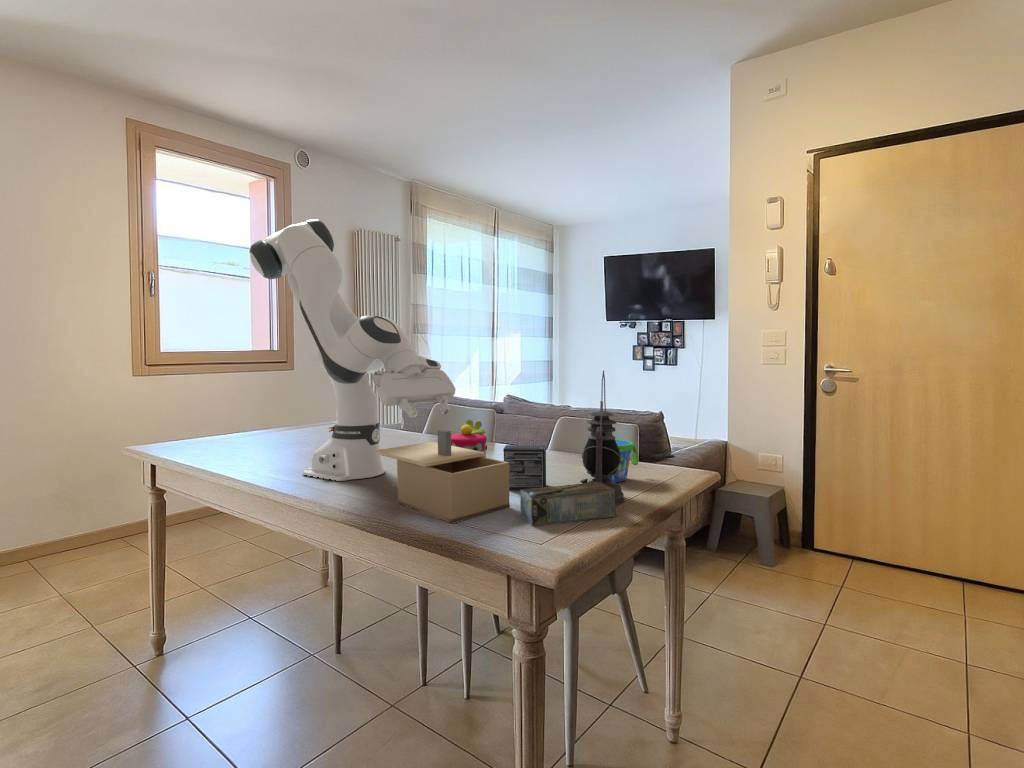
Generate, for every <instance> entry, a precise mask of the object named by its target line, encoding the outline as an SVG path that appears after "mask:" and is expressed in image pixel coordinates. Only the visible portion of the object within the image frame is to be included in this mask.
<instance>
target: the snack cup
mask: <svg viewBox="0 0 1024 768" xmlns="http://www.w3.org/2000/svg"><path fill="white" fill-rule="evenodd" d="M615 441H616V444H617V446H618V448H619V451H620V454H621V460H622V463H621V464H620V466H619V468H618V469H617V471H616V474H615V475H613V476H612V477H611V478H608V479H610V480H611V482H614V483H621V482H625V481H626V480H627V478H628V472H629V469H630V468H629V466H630V461H631V465H632V466H637V465H638V464H639V454H638V453H639V452H638V449H637V447H636V445H635V444H634V443H633V441H630V440H623V439H615ZM631 454H632V457H631Z"/></svg>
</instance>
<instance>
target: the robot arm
mask: <svg viewBox="0 0 1024 768" xmlns="http://www.w3.org/2000/svg"><path fill="white" fill-rule="evenodd" d="M334 248H335V243H334V237H333V234H332V232H331V230H330V229H329V228H328V227H327V225H326V224H325V223H324V222H323V221H322V220H320V219H317V218H315V219H307V220H304V222H300V223H295V224H290V225H287V227H284V228H282V229H281V230H278V231H276V232H274V233H272V234H270V235H269V236H266V237H265V238H263V239H258V240H257V241H255V242H254V243H252V245H250V248H249V257H250V262H251V264H252V266H253V268H254V269H255V270H256V271H257V273H258V274H260V275H261V276H262V277H263V278H264V279H267V280H276V279H279V278H282V276H286V275H287V284H288V285H289V288H290V291H291V293H292V295H293V297H294V299H295V301H296V303H297V304H298V306H299V309H300V312H301V314H302V316H303V318H304V320H305V323H306V325H307V327H308V329H309V331H310V334H311V335H312V337H313V340H314V341H315V343H316V346H317V348H318V349H317V361H318V364H319V365H320V367H321V368H322V369H323V370H324V371H325V372H326V374H327V375H328V378H329V379H330V382H331V385H332V387H333V392H334V396H335V397H334V398H335V408H336V424H335V425H334V426H330V427H328V429H329V430H328V432H329V433H331V432H332V433H331V438H329V439H328V440H327V441H326V442H324V443H323V444H322V445H320V447H318V448H317V449H316V450H315V451H314V452H313V454H312V457H311V465H310V467H308V468H306V469H304V470H303V472H302V476H304V475H307V476H306V477H310V476H313V477H312V478H317V477H319V478H318V479H323V478H324V480H329V479H331V480H330V481H335V480H336V481H337V482H343V481H349V480H350V481H351V480H359V479H368V478H374V477H377V476H380V475H382V474H384V473H385V471H386V470H385V468H384V465H383V461H382V460H383V459H382V455H378V454H375V450H380V439H381V437H380V436H381V430H380V423H379V422H378V421H379V412H378V397H379V399H380V402H381V404H383V405H384V406H386V407H391V406H392V407H393V406H398V408H399V409H400V410H402V411H403V412H405V413H406V414H407V416H408V417H409V419H413V418H417V416H418V414H419V411H418V410H417V408H416V407H413V406H412V405H416V404H427V403H437V402H438V404H439V405H441V407H440V408H439V412H440V413H441V414H442V415H447V414H449V413H450V412H451V409H450V407H449V405H448V403H449V402H450V401H451V400H452V398H453V397H454V395H455V394H456V386H455V385H454V383H453V382H452V380H451V379H450V377H449V376H448V374H447V373H446V372H445V371H444V370H443V369H441V368H442V365H441V363H440V362H439V361H437V360H433V359H430V358H426V357H424V356H422V355H418V353H417V352H416V351H415V350H414V349H413V348H412V344H411V341H410V339H409V338H408V336H407V335H406V333H405V332H404V330H403V328H401V327H400V325H399V324H398V323H397V322H396V321H395V320H394V319H392V318H391V317H388V316H377V315H363V316H361V317H360V318H359V317H358V316H356V314H354V312H353V311H352V310H351V308H350V307H349V306H348V305H347V303H346V302H345V300H344V299H343V297H342V296H341V294H340V293H339V290H340V286H341V284H342V279H343V270H342V266H341V264H340V262H339V260H338V258H337V257H336V256H335V254H334V253H333V252H334ZM383 368H384V370H385V371H380V370H381V369H383ZM372 373H373V374H372ZM368 374H372V376H371V381H372V382H373V384H374V385H375V389H376V392H377V393H376V392H375V391H374V390H373V389H372V387H371V385H370V384H371V383H370V381H369V376H368ZM377 394H378V395H377Z"/></svg>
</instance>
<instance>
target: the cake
mask: <svg viewBox="0 0 1024 768" xmlns="http://www.w3.org/2000/svg"><path fill="white" fill-rule="evenodd" d="M482 425H483V422H482V421H481V420H477V421H476V422H475V423H474V421H473V420H472V419H467V420H466V421H465V424H463V425H460V431H461V432H458V433H454V434H451V446H456V447H460V448H465V449H470V450H475V451H480V452H485V456H482V457H486V458H487V450H488V446H487V436H486V435H485V433H486V430H485V429H480V428H481V427H482Z"/></svg>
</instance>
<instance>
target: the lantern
mask: <svg viewBox="0 0 1024 768" xmlns="http://www.w3.org/2000/svg"><path fill="white" fill-rule="evenodd" d="M600 398H601V400H600V402H599V404H600V406H599V407H600V408H599V409H600V411H592V412H591V413H589V414H588V415H589V416H591V417H594V418H592V419H590V420H587V421H586V423H587V424H590V426H588V427H587V431H588V432H590V434H589V436H587V438H588V439H587V441H586V444H585V446H584V448H583V451H582V454H581V459H582V466H583V468H584V469H585V471H586V474H588V475H590V476H591V478H590V479H588V478H584V479H583V478H582V479H581V480H580V481H579V482H580V484H583V483H588V482H591V481H593V482H602V483H603V484H606V485H608V486H610V487H612V488H615V490H616V505H619V504H622V503H624V502H625V497H624V495H625V494H624V492H622V487H621V484H619V483H618V482H611V480H610V479H608V478H611V477H612V476H613V475H615V474H616V471H617V469H618V468H619V466H620V464H621V463H622V460H621V454H620V451H619V448H618V446H617V444H616V441H615V440H616V436H614V434H613V433H614V432H616V427H613V425H616V424H617V421H616V420H613V419H611V418H610V417H613V416H614V415H615V414H614V413H612V412H609V411H607V408H606V407H607V406H606V405H607V404H606V377H605V370H602V375H601V397H600ZM603 398H604V399H603ZM603 400H604V401H603Z"/></svg>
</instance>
